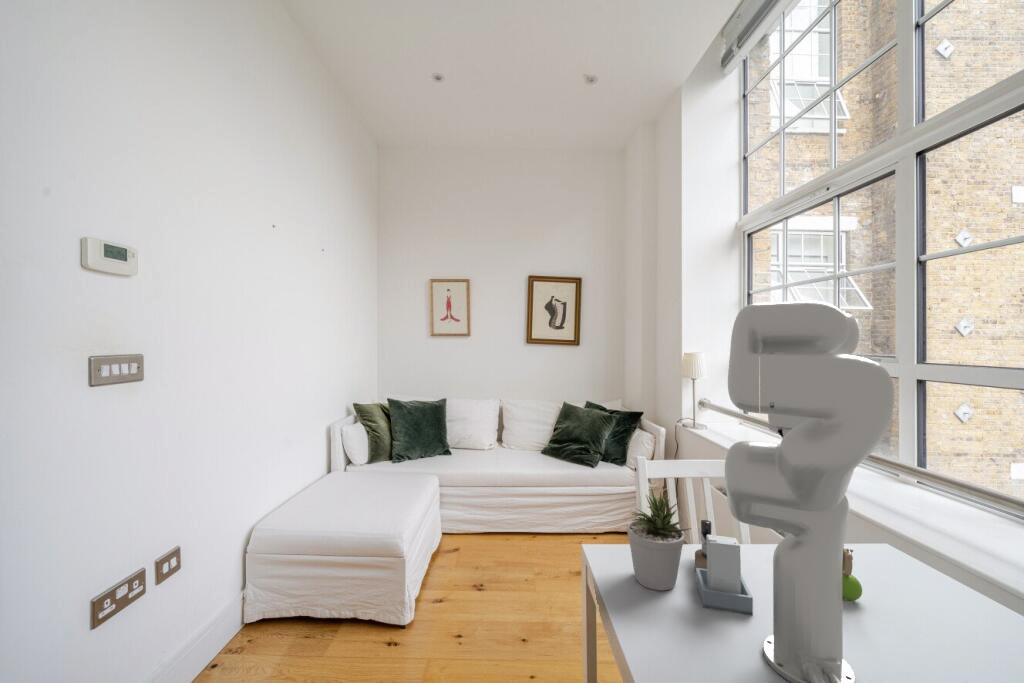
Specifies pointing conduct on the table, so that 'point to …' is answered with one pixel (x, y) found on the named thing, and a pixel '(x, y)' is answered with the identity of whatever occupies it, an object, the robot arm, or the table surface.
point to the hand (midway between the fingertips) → (795, 461)
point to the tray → (723, 596)
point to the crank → (705, 531)
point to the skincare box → (723, 564)
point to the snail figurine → (849, 578)
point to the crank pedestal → (700, 560)
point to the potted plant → (656, 546)
